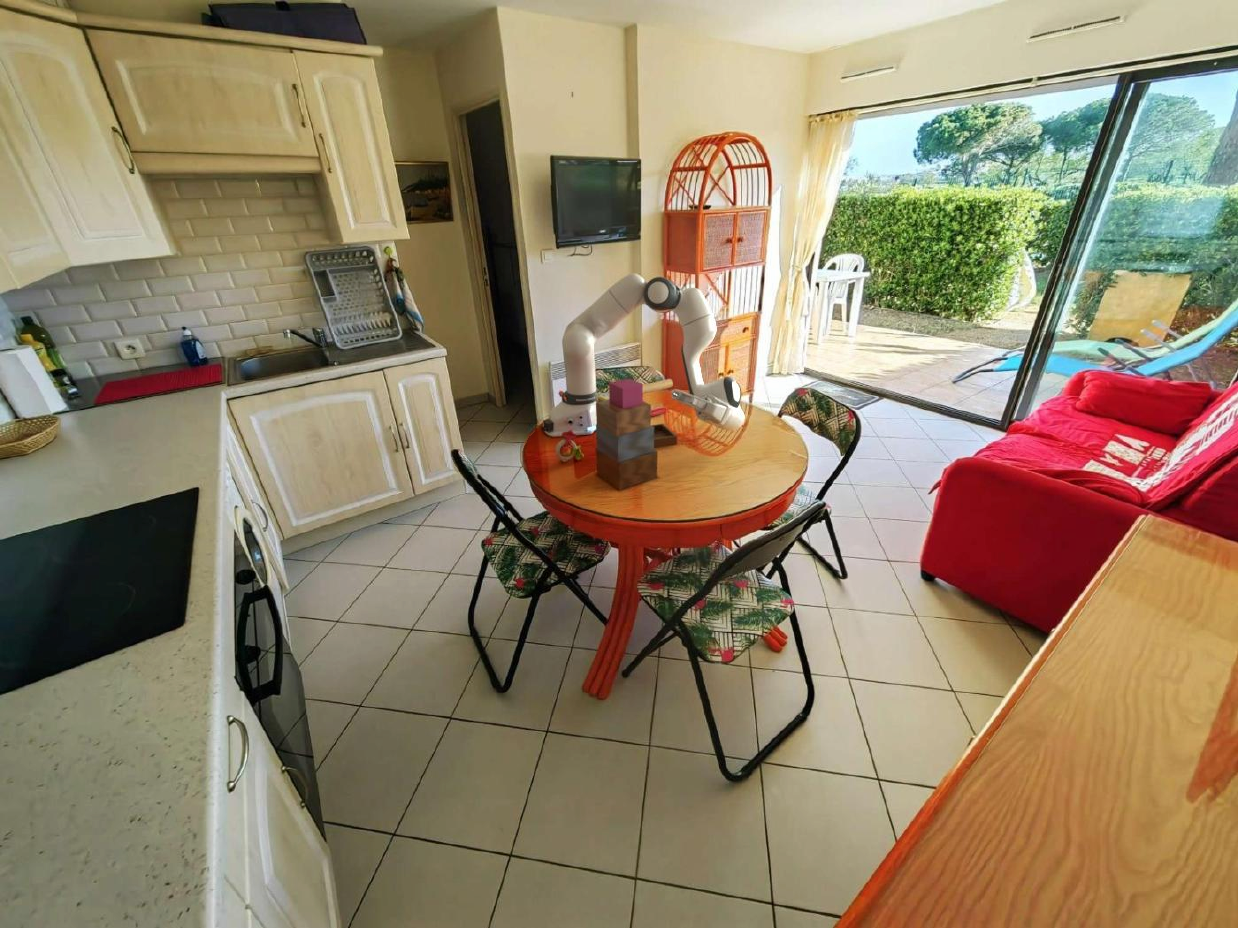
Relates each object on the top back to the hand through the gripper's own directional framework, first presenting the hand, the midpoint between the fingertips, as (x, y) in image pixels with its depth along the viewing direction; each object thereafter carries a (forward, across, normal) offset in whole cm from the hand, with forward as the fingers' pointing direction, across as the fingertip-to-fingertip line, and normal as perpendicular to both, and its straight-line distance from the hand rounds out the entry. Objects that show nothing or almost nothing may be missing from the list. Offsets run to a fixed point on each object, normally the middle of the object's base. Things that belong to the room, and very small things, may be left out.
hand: (682, 396), depth 160 cm
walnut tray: (-11, -18, +18) cm, 28 cm away
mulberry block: (+14, 0, +5) cm, 15 cm away
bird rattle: (+16, -20, +34) cm, 43 cm away
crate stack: (+8, 0, +30) cm, 31 cm away
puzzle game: (-19, -53, +14) cm, 58 cm away
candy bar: (-24, -37, +11) cm, 45 cm away
